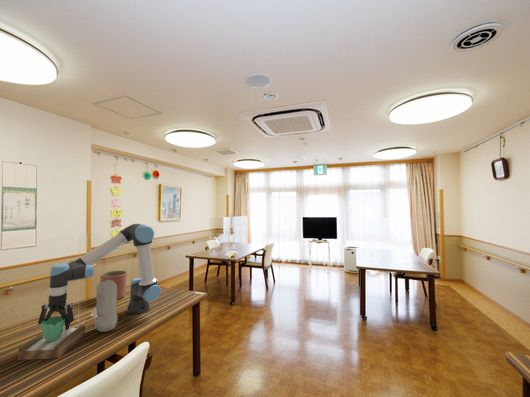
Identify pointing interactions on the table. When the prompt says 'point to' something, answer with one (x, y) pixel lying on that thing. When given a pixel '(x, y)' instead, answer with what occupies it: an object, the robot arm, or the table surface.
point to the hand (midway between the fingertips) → (55, 336)
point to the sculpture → (106, 306)
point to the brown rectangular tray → (50, 345)
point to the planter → (116, 281)
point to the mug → (52, 328)
